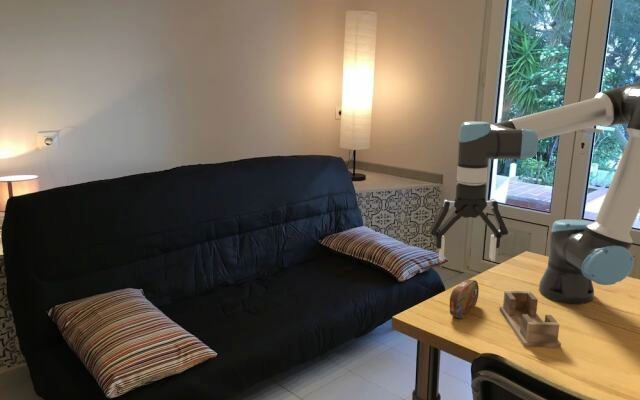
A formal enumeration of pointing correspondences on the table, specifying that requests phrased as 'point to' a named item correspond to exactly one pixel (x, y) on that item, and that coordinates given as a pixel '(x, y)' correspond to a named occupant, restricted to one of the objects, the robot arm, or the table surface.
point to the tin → (464, 298)
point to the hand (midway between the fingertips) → (466, 259)
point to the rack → (529, 320)
